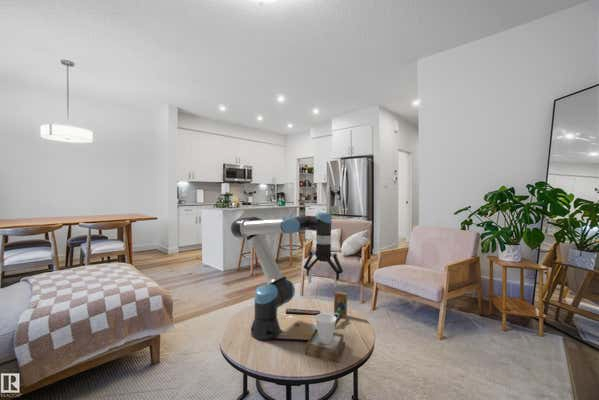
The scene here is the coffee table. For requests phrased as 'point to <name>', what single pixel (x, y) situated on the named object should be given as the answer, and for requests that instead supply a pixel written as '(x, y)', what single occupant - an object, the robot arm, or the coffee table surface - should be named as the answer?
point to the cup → (325, 327)
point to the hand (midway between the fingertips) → (322, 284)
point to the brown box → (325, 347)
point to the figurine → (340, 305)
